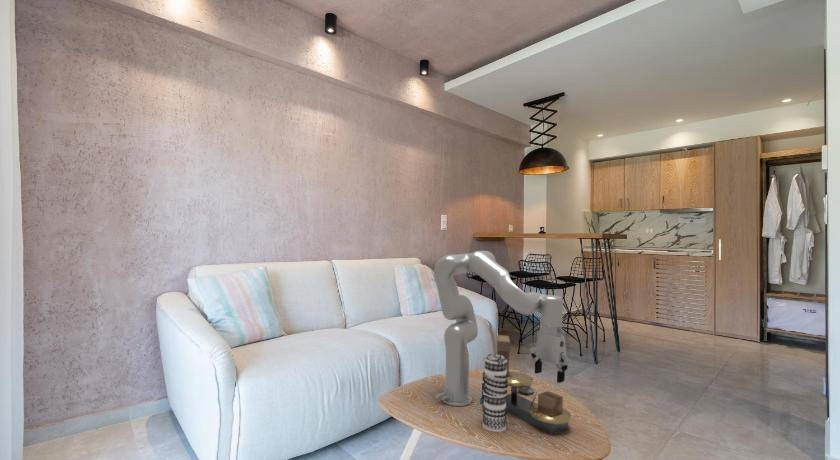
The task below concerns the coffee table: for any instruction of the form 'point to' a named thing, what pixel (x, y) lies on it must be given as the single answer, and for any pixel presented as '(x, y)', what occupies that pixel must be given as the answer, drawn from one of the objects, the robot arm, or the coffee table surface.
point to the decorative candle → (495, 393)
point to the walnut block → (550, 404)
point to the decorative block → (504, 348)
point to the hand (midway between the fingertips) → (549, 377)
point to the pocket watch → (525, 388)
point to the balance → (532, 406)
